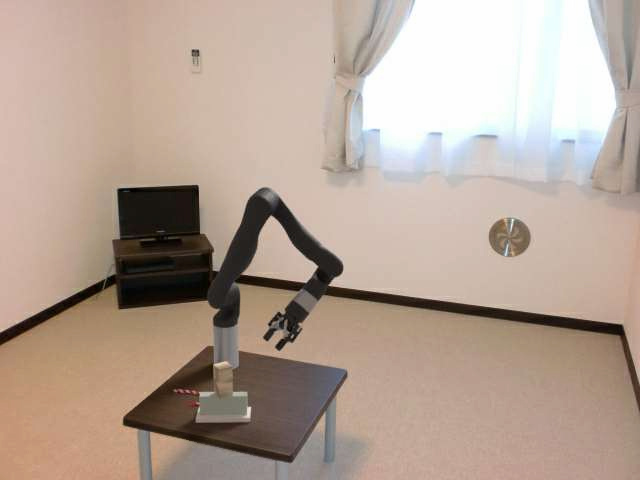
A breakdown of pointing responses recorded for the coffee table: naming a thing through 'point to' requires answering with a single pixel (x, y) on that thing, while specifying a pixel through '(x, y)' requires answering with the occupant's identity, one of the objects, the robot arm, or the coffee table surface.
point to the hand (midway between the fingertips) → (270, 344)
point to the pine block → (223, 379)
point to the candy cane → (190, 393)
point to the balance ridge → (223, 408)
